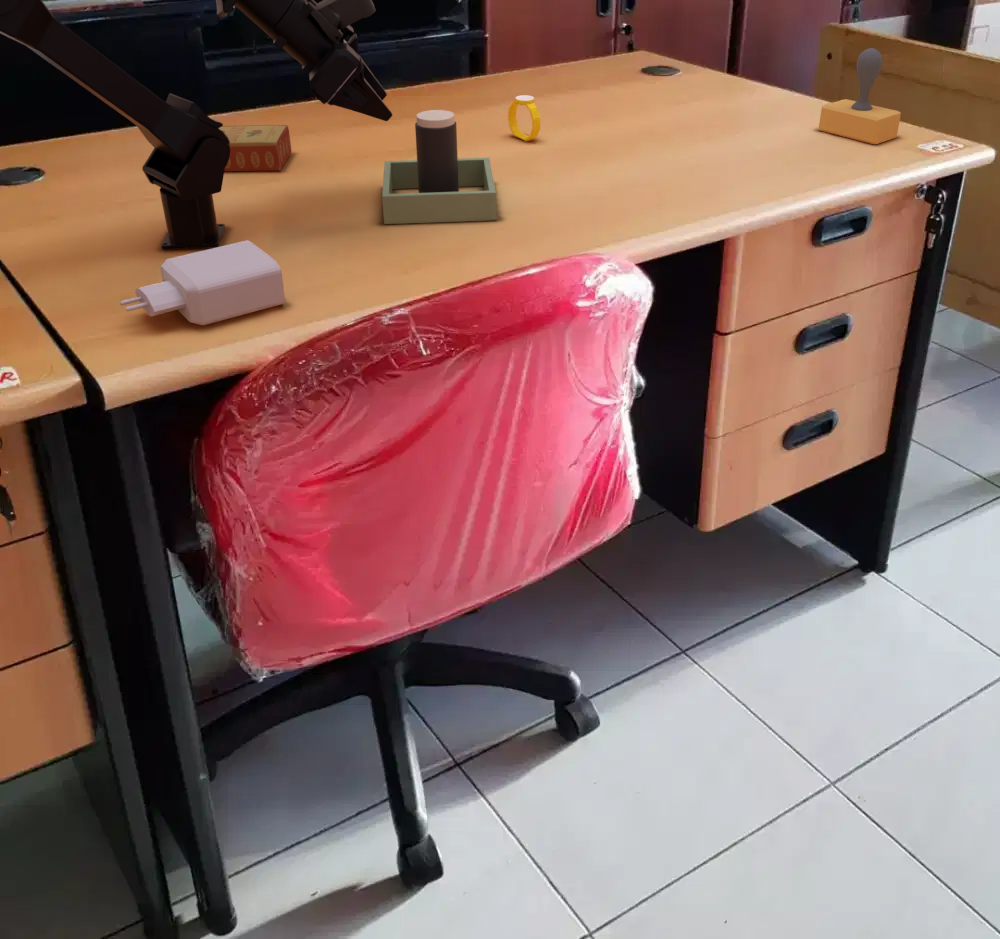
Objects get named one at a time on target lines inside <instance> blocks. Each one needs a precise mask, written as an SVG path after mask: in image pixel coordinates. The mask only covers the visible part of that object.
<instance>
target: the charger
mask: <svg viewBox="0 0 1000 939" xmlns="http://www.w3.org/2000/svg"><path fill="white" fill-rule="evenodd" d="M159 268H160V274H161V278H162V279H161V280H162V281H161V282H157V283H153V284H148V285H144V286H140V287H137V288H136V289H135V291H134V292H135V295H136V297H131V298H127V299H123V300H120V301H119V305H120V306H125V311H126V312H130V311H135V310H138V309H143V310H144V311H145V312H146V313H147V314H148V316H150V317H155V316H158V315H163V314H166V313H170V312H175V311H178V312H179V313H180V314H181V315H182V316H183V317H184V318H185V320H187V321H188V322H189V323H192V324H195V325H199V326H207V325H210V324H214V323H217V322H221V321H225V320H229V319H232V318H236V317H239V316H244V315H248V314H251V313H255V312H259V311H262V310H266V309H269V308H273V307H277V306H280V305H284V304H286V293H285V286H284V279H283V272H282V269H281V266H280V265H279V263H278V262H277V261H276V259H275V258H273V257H271V255H269V254H268V253H266V252H265V251H264V250H263V249H261V248H260V247H258V246H257V245H256V244H254V243H253V242H252V241H250V240H248V239H247V240H242V241H238V242H234V243H229V244H225V245H221V246H217V247H211V248H208V249H204V250H199V251H195V252H190V253H187V254H183V255H179V256H174V257H170V258H166V259H165V260H164V262H163V263H162V264H161V265H160V267H159ZM137 302H139V303H137ZM134 303H137V304H134ZM130 304H132V305H130ZM126 305H129V306H126Z"/></svg>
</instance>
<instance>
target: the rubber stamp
mask: <svg viewBox="0 0 1000 939" xmlns="http://www.w3.org/2000/svg"><path fill="white" fill-rule="evenodd" d="M882 66H883V56H882V54H881V52H880V51H879V50H878V49H877V48H872V47H870V48H866V49H865V50H863V51H862V52H861V53H860V54H859V55H858V57H857V60H856V68H855V70H856V77H857V82H858V86H859V96H858V98H857V100H852V99H846V98H844V99H841V100H837V101H834V102H830V103H827V104H823V105H821V109H820V115H819V116H820V117H819V123H818V129H817V130H818V131H820V132H824V133H828V134H831V135H835V136H840V137H844V138H847V139H851V140H854V141H855V140H856V141H859V142H862V143H866V144H871V145H878V144H881V143H884V142H886V141H889V140H893V139H896V138H897V137H898V132H899V127H900V121H901V115H902V112H900V111H899V110H896V109H890V108H886V107H882V106H877V105H873V104H871V102H870V101H869V95H870V92H871V89H872V87H873V86H874V83H875V82H876V80H877V78H878V77H879V76H880V75H879V74H880V72H881V71H882V68H883V67H882Z"/></svg>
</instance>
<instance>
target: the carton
mask: <svg viewBox="0 0 1000 939" xmlns="http://www.w3.org/2000/svg"><path fill="white" fill-rule="evenodd" d="M218 129H220V130H222V131H223V132H224V133H225V135H226V136H227V137H228V139H229V141H230V144H229V145H230V157H229V161H228V163H227V165H226V167H225V170H224V172H235V171H236V172H238V171H239V172H240V171H244V172H245V171H246V172H248V171H249V172H250V171H281V170H282V168H283V166H284V165H285V163H286V161H287V160H288V158H289V157H290V156H291V153H292V141H291V135H290V129H289V126H288V124H255V125H252V124H251V125H223V126H222V127H220V128H218Z"/></svg>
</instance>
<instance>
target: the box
mask: <svg viewBox="0 0 1000 939" xmlns="http://www.w3.org/2000/svg"><path fill="white" fill-rule="evenodd" d="M383 166H384V167H383V179H382V191H381V194H382V195H381V201H382V202H381V203H382V216H383V225H396V224H397V225H398V224H399V225H400V224H401V225H402V224H431V223H432V224H433V223H457V222H459V223H460V222H485V221H497V192H496V191H497V190H496V185H495V180H494V175H493V170H492V164H491V160H490V157H471V158H470V157H467V158H466V157H465V158H463V157H461V158H458V186H459V188H460V187H461V188H463V187H466V188H467V187H484V190H466V191H465V190H464V191H459V192H432V193H419V192H409V193H408V192H407V193H406V192H405V193H404V192H403V193H393V190H404V189H419V186H418V167H417V159H406V160H405V159H404V160H403V159H402V160H384V164H383Z"/></svg>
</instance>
